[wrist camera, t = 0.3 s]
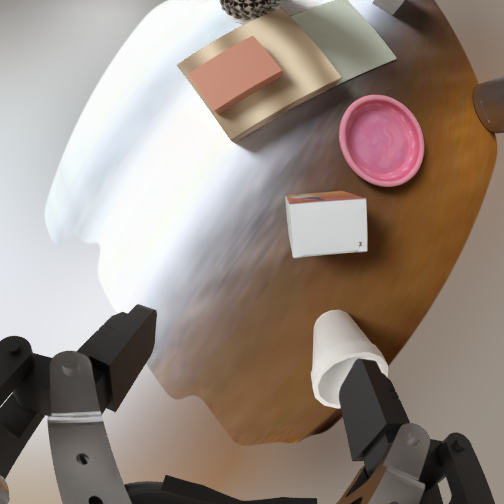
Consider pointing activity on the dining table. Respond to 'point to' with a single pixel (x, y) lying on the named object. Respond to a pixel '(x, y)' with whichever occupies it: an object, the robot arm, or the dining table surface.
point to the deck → (280, 91)
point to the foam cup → (338, 354)
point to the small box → (326, 223)
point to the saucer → (381, 140)
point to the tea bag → (388, 5)
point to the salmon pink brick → (235, 74)
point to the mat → (344, 38)
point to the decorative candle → (248, 9)
